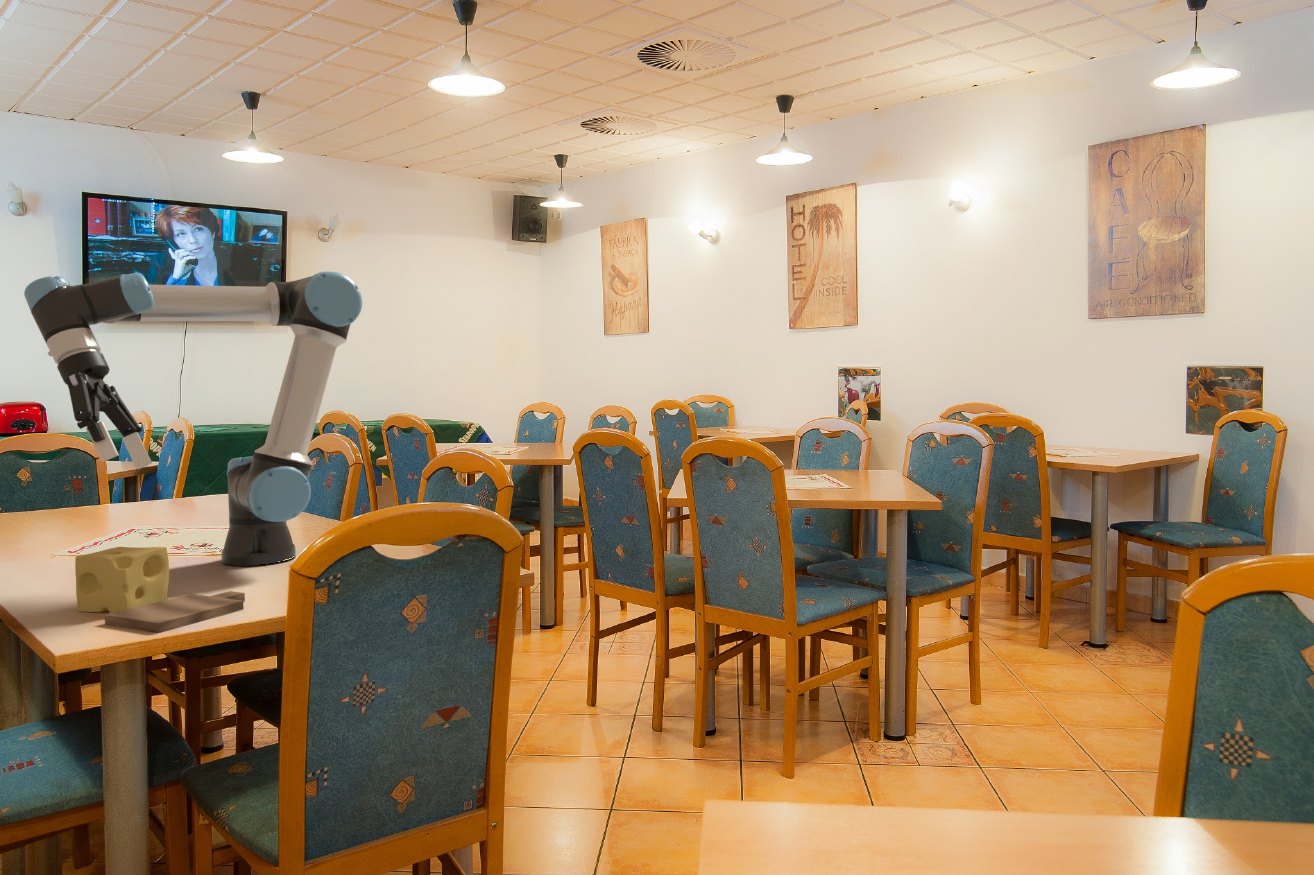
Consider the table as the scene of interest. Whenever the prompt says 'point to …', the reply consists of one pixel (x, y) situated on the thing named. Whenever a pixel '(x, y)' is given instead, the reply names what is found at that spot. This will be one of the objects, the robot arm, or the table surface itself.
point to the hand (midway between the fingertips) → (128, 462)
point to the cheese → (121, 578)
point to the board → (177, 611)
